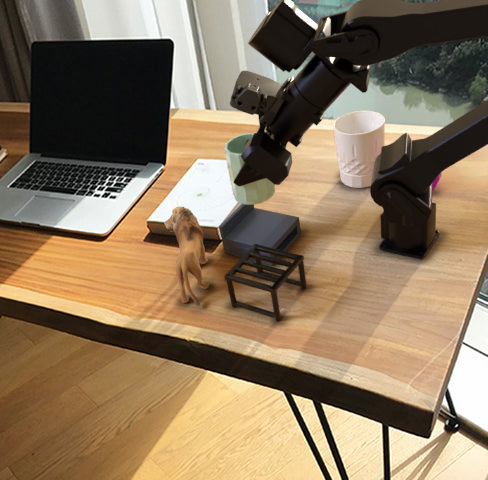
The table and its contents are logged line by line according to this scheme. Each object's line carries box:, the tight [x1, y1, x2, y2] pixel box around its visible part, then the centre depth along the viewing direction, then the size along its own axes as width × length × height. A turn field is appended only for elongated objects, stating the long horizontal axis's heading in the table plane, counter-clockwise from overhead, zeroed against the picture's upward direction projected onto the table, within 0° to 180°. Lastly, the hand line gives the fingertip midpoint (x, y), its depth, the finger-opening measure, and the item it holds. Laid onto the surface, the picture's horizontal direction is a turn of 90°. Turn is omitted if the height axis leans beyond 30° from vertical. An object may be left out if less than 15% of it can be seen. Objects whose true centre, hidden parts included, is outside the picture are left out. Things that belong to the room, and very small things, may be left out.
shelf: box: [218, 203, 302, 266], centre depth 102 cm, size 9×9×5 cm
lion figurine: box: [164, 206, 210, 307], centre depth 98 cm, size 15×5×9 cm, turn 6°
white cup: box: [332, 110, 386, 189], centre depth 109 cm, size 8×8×10 cm
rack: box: [224, 244, 308, 322], centre depth 92 cm, size 8×8×6 cm
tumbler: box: [223, 132, 276, 205], centre depth 96 cm, size 6×6×8 cm
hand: (241, 171), depth 97 cm, fingers closed on tumbler, 6 cm apart
